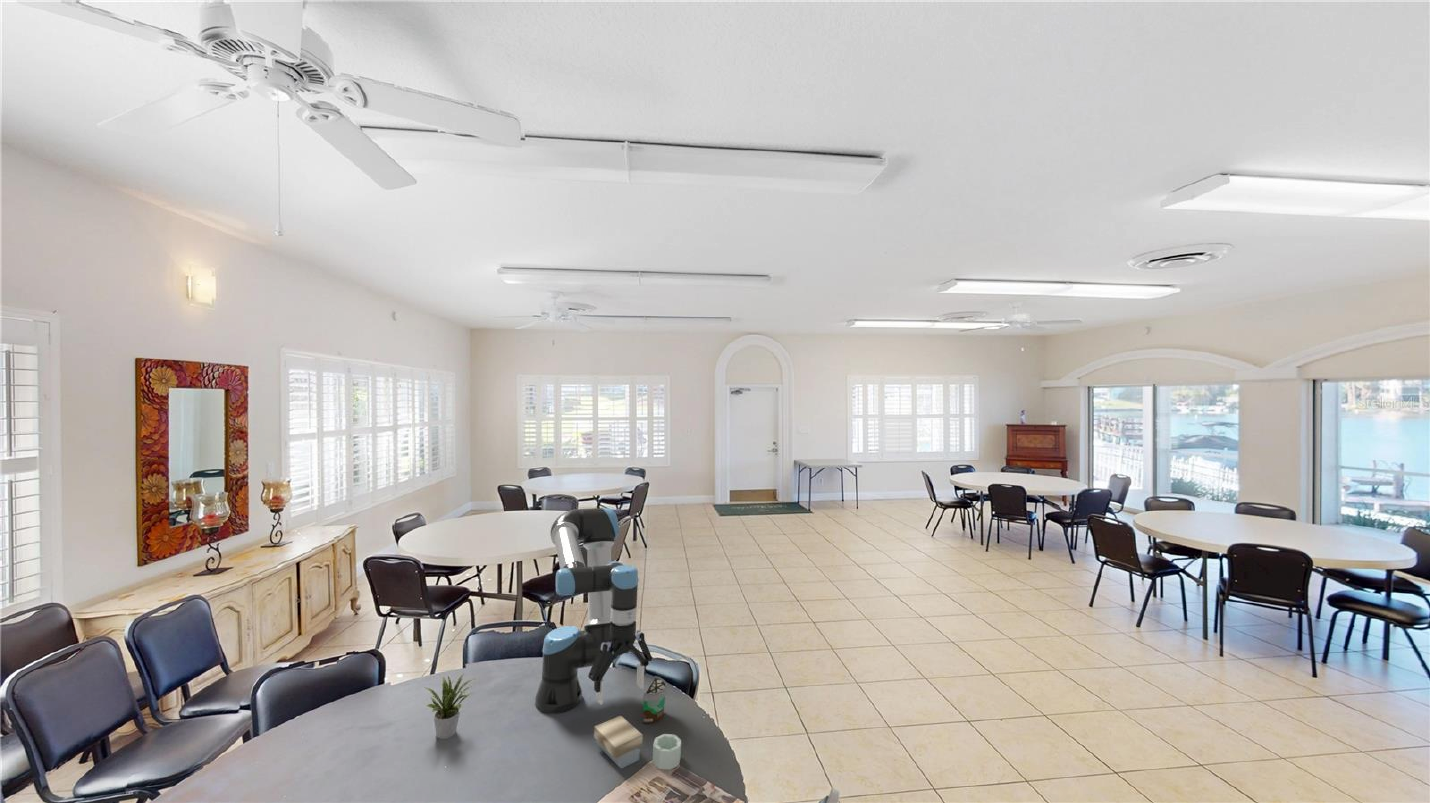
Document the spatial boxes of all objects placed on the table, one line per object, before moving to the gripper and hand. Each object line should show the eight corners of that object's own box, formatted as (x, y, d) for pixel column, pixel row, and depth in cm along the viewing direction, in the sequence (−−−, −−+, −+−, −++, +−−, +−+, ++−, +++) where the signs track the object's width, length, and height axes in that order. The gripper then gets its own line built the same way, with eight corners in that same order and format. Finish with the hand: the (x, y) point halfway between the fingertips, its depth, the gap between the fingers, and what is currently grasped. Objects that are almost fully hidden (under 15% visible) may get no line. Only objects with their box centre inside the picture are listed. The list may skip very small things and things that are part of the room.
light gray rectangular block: (596, 743, 153) (596, 733, 153) (614, 735, 157) (614, 725, 157) (621, 768, 143) (621, 757, 143) (639, 759, 147) (639, 748, 147)
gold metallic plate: (593, 736, 152) (594, 726, 152) (620, 725, 158) (620, 715, 158) (614, 757, 143) (615, 747, 143) (642, 745, 149) (642, 734, 149)
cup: (648, 758, 147) (648, 740, 148) (669, 747, 152) (670, 730, 153) (663, 773, 142) (664, 754, 142) (685, 761, 147) (686, 743, 147)
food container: (660, 729, 161) (661, 697, 162) (641, 726, 163) (642, 694, 163) (671, 707, 173) (672, 677, 174) (654, 704, 175) (655, 675, 175)
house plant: (486, 727, 159) (489, 674, 159) (446, 754, 146) (449, 696, 147) (454, 715, 165) (456, 663, 165) (413, 739, 152) (416, 683, 153)
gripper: (591, 636, 140) (587, 715, 139) (665, 614, 157) (662, 685, 156) (578, 627, 146) (574, 702, 145) (651, 607, 162) (648, 675, 162)
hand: (620, 694), depth 151 cm, fingers open, 13 cm apart
